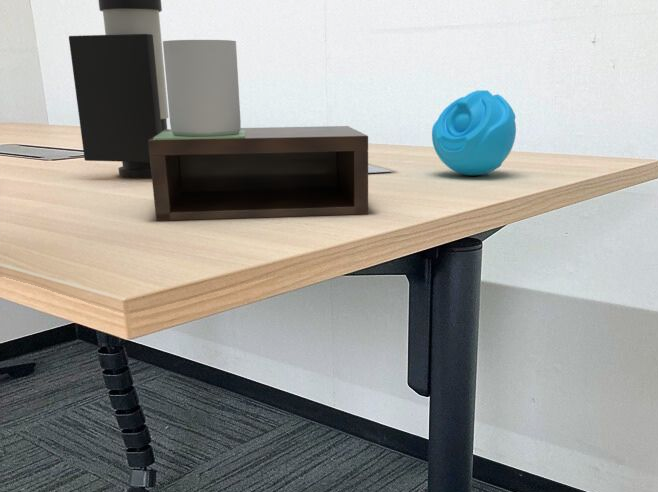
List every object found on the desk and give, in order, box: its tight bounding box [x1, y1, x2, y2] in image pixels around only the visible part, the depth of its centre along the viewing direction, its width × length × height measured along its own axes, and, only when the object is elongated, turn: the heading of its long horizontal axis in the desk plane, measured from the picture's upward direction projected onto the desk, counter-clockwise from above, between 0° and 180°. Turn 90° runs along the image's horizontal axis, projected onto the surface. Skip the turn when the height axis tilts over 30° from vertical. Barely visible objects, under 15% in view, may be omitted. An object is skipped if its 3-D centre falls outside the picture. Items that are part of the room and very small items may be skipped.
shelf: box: [148, 125, 369, 222], centre depth 84 cm, size 22×16×8 cm
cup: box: [162, 39, 242, 136], centre depth 77 cm, size 7×10×9 cm
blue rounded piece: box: [431, 89, 517, 177], centre depth 106 cm, size 12×11×12 cm
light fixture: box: [68, 0, 169, 179], centre depth 107 cm, size 12×11×25 cm
